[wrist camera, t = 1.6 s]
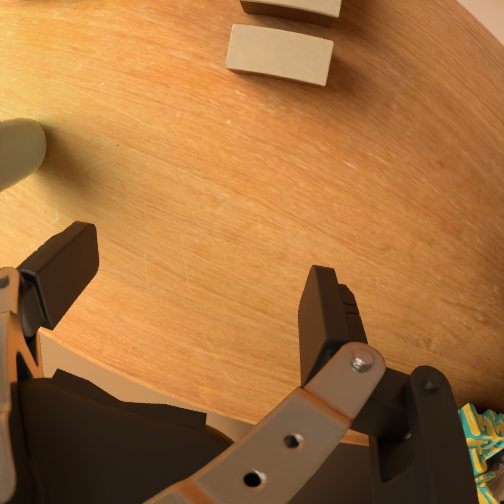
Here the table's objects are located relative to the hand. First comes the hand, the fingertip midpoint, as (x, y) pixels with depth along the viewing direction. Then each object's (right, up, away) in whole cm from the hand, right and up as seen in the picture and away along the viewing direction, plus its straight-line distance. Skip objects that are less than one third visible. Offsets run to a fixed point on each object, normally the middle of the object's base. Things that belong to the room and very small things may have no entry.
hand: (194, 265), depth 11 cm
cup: (-25, +14, +18) cm, 34 cm away
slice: (+5, +18, +13) cm, 23 cm away
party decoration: (+59, -42, +41) cm, 83 cm away
